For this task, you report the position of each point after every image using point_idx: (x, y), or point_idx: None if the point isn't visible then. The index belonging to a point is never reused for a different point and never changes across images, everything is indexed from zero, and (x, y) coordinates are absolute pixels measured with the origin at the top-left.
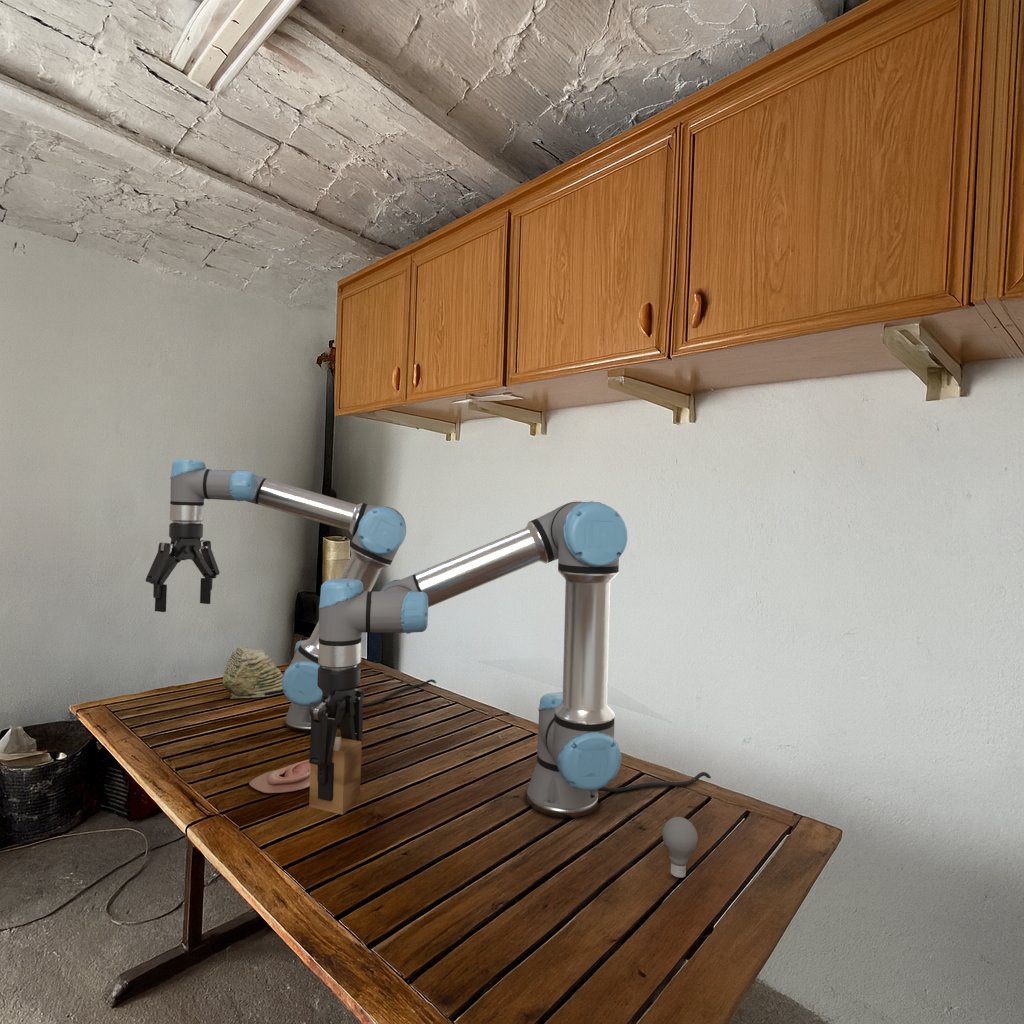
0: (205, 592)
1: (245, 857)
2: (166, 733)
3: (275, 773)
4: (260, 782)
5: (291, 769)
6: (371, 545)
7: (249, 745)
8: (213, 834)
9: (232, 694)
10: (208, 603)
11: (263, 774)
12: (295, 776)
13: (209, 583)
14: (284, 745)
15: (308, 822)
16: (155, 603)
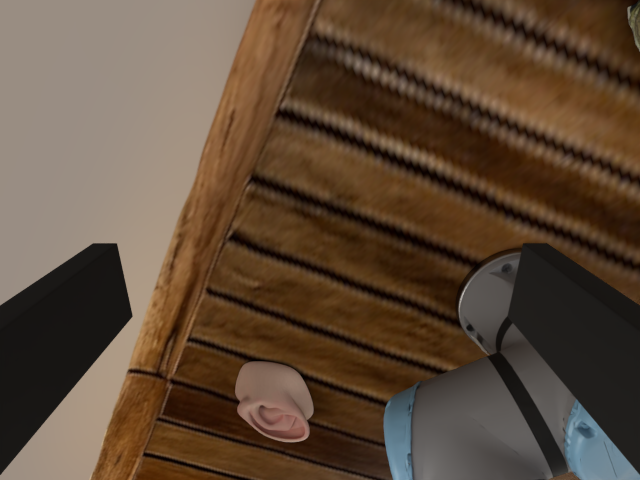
0: (568, 346)
1: (123, 452)
2: (352, 70)
3: (255, 406)
4: (244, 384)
5: (276, 415)
6: None
7: (366, 268)
8: (132, 404)
9: (636, 13)
10: (512, 319)
11: (263, 376)
12: (264, 427)
13: (635, 458)
14: (390, 317)
15: (209, 462)
16: (57, 272)
